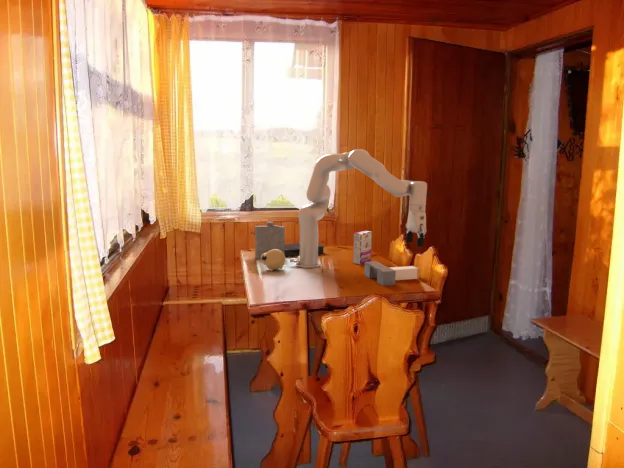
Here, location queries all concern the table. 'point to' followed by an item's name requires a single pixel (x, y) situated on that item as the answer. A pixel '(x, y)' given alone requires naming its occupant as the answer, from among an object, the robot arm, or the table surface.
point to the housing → (380, 273)
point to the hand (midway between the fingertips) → (414, 244)
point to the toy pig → (273, 259)
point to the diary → (298, 249)
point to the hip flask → (269, 238)
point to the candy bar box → (362, 247)
